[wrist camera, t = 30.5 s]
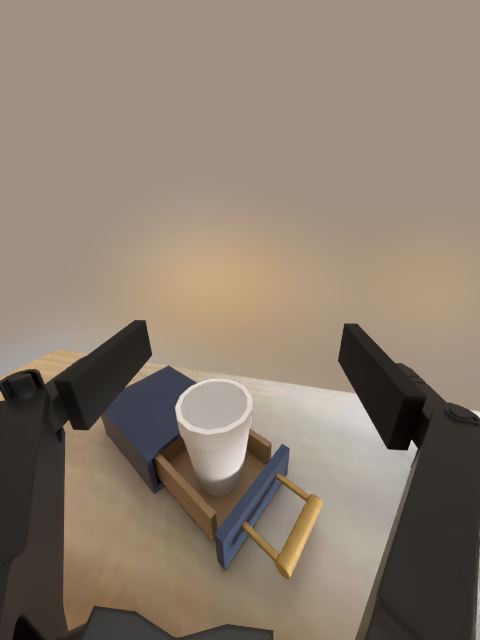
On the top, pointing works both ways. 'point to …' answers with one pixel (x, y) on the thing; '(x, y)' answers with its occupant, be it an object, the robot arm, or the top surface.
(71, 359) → the top surface
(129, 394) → the cabinet
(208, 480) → the foam cup
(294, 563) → the drawer
